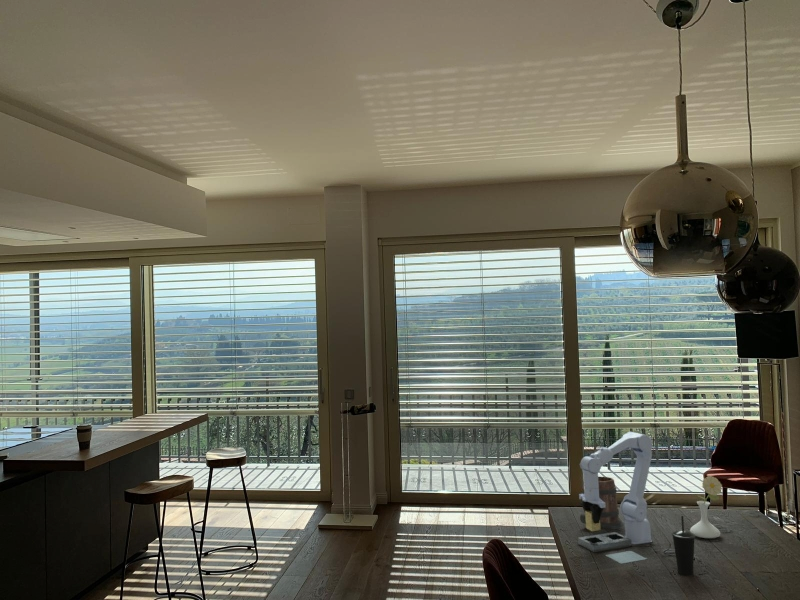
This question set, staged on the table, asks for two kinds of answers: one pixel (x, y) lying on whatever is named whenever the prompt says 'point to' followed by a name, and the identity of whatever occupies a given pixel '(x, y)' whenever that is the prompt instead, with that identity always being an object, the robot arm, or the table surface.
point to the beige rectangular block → (591, 521)
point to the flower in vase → (704, 526)
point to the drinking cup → (684, 550)
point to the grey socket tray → (604, 541)
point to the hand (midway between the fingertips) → (592, 521)
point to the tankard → (607, 504)
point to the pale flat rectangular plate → (626, 557)
